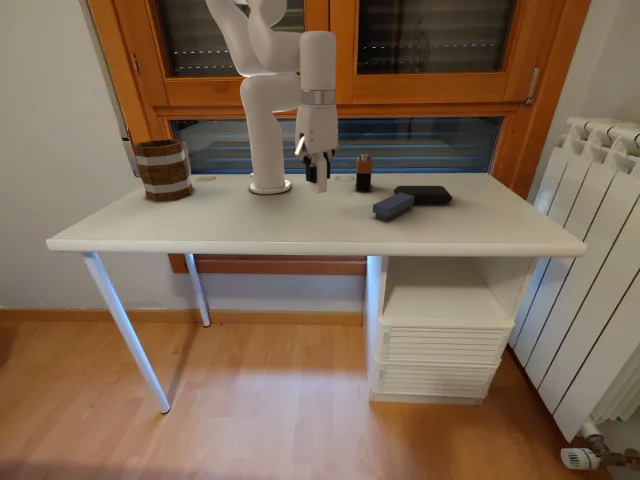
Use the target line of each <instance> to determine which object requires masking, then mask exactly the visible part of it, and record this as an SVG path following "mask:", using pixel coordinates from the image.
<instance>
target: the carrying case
mask: <svg viewBox="0 0 640 480" xmlns="http://www.w3.org/2000/svg"><path fill="white" fill-rule="evenodd" d="M393 193H394V194H393V195H395V194H398V193H404V194H408V195H412V196H415V199H414V204H413V205H448V204H450V203H451V202H452V201H453V199H454V198H453V196H452V195H451V193H450V192H449V191H448V190H447V189H446V188H445V186H443V185H398V186H396V187H395V188H394V189H393Z"/></svg>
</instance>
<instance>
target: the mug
mask: <svg viewBox="0 0 640 480" xmlns="http://www.w3.org/2000/svg"><path fill="white" fill-rule="evenodd" d="M131 148H132V151H133V153H134V155H135V158H136V162H137V167H138V173H139V176H140V178H141V181H142V184H143V188H144V191H145V199H146V200H149V201H151V202H156V203H161V202H172V201H178V200H181V199H184V198H186V197H189V196H192V194H193V191H194V187H193V185H192V182H191V178H190V176H191V174H192V167H191V161H190V156H189V148H188V146H187V143H186V142H185V141H184V140H181V139H175V138H174V139H173V138H168V139H167V138H166V139H152V140H148V141H141V142H137V143H134V144H133V145H132V146H131Z"/></svg>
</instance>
